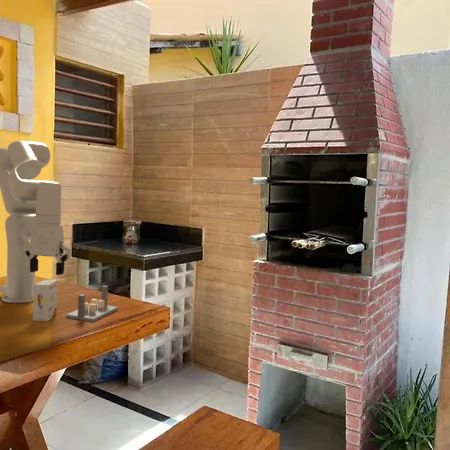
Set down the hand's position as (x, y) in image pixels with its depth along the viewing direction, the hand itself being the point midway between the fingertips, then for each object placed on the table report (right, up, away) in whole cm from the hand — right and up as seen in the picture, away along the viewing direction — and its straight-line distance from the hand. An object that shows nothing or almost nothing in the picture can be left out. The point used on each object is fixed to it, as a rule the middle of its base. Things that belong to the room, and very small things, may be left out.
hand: (46, 273), depth 149 cm
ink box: (-1, -15, +2) cm, 15 cm away
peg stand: (+12, -15, +9) cm, 21 cm away
